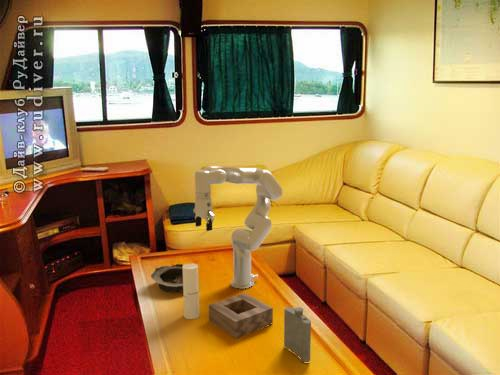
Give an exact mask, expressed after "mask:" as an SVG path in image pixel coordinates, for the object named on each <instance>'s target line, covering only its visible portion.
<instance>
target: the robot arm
mask: <svg viewBox="0 0 500 375" xmlns="http://www.w3.org/2000/svg"><path fill="white" fill-rule="evenodd" d="M225 182H226V183H230V184H235V185H236V184H237V185H243V184H244V185H247V184H248V185H250V184H251V185H256V186H255V193H256V202H255V204H254V206H253V208H252V209H251V210H250V211H249V213H248V214H247V215H246V218H245V220H244V225H245V227H246V228H247V229H246V228H242V227H238V228H235V229H234V230H233V232H232V233H231V237H230V238H231V243H232V250H233V255H232V256H233V258H232V259H233V279H232V280H231V281H230V286H231V287H233V288H235V289H238V288H239V289H240V290H241V289H242V290H243V289H244V290H246V289H250V288H252V287H253V286H254V285H255V281H254V279H258V278H259V274H253V273H252V251H256V250H257V249H258V248H259V247H260V246H261V245H262V244H263V242H264V240H265V238H266V237H267V236H268V234H269V233H270V231H271V229H272V219H270V217H269V216H268V214H269V213H270V211H271V200H272V201H277V200H278V201H279V200H280V199H281V197H282V196H283V188H282V186H281V184H280V183H279V182H278V180H277V179H276V177H275V176H274V175H273V174H272V172H270V171H269V170H267V169H262V168H259V167H237V166H236V167H235V166H233V167H232V166H206V167H204V168H203V169H198V170H196V171H195V173H194V187H195V189H194V191H195V194H194V195H195V196H194V197H195V199H194V201H195V202H194V208H193V209H192V210H193V215H194V219H195V227H196V228H197V227H201V226H202V219H205V221H206V223H205V224H206V225H205V227H206V229H205V230H206V232H210V231H212V230H213V222H214V218H215V214H214V208H213V200H212V196H211V194H212V192H211V190H212V189H211V186H212V185H221V184H224V183H225ZM251 286H252V287H251ZM249 287H250V288H249ZM245 288H246V289H245Z"/></svg>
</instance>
